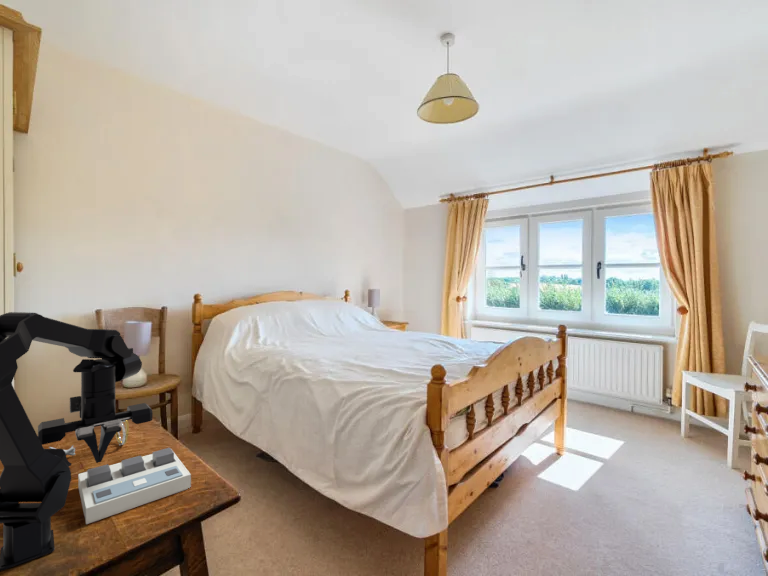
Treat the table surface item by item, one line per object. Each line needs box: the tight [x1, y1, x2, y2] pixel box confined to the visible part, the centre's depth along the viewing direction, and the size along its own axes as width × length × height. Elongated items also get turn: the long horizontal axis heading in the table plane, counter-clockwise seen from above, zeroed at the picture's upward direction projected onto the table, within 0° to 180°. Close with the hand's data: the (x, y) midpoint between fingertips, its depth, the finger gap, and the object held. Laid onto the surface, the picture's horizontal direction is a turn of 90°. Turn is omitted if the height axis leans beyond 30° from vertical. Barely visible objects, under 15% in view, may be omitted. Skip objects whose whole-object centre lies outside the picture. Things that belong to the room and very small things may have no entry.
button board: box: [77, 448, 192, 525], centre depth 81 cm, size 16×18×3 cm
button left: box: [86, 464, 111, 487], centre depth 78 cm, size 4×4×3 cm
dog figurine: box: [48, 444, 76, 456], centre depth 92 cm, size 3×6×4 cm
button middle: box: [121, 454, 144, 477], centre depth 82 cm, size 4×4×3 cm
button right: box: [152, 447, 175, 467], centre depth 86 cm, size 4×4×3 cm
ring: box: [114, 420, 130, 446], centre depth 100 cm, size 7×3×8 cm, turn 48°
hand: (98, 461), depth 78 cm, fingers closed
